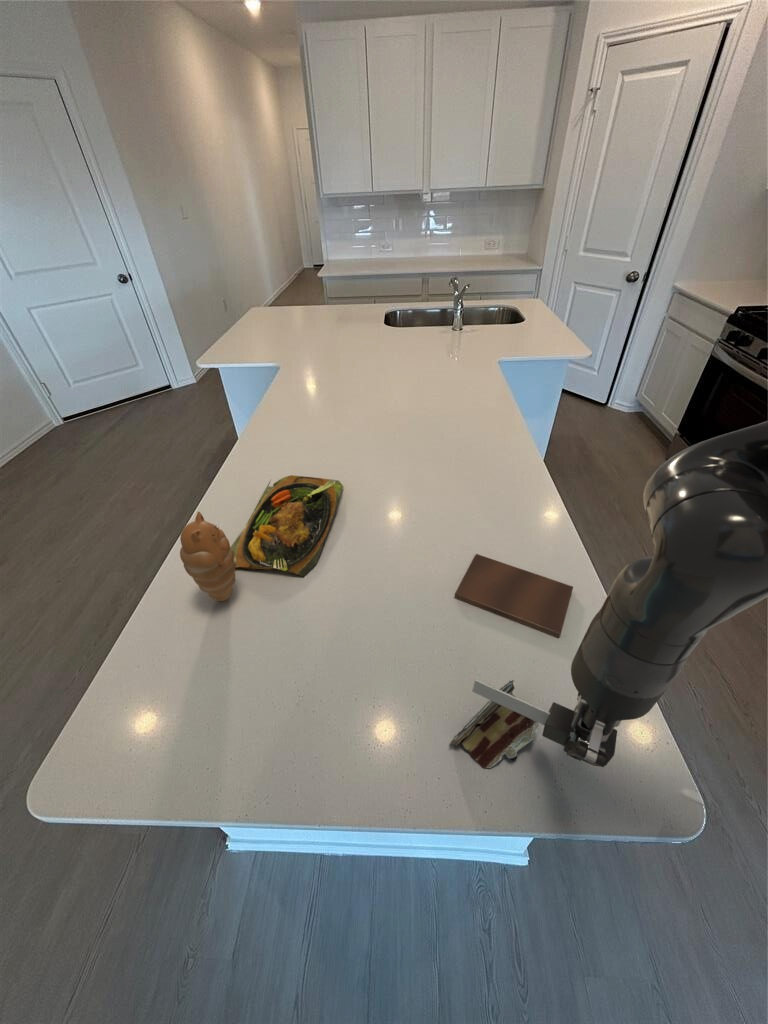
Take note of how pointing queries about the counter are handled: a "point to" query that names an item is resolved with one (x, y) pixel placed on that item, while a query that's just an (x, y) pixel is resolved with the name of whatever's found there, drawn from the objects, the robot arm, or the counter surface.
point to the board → (516, 594)
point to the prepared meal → (288, 525)
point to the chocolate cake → (496, 732)
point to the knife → (542, 716)
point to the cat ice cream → (208, 558)
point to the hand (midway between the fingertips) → (576, 737)
